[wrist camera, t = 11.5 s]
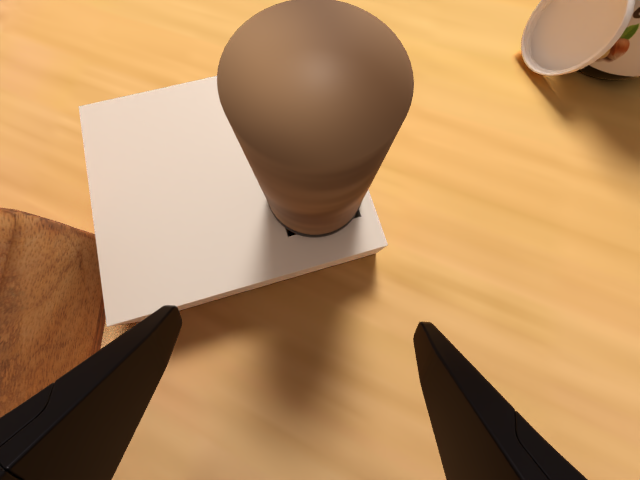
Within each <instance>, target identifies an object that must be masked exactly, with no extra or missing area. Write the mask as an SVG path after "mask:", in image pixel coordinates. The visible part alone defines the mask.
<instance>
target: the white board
mask: <svg viewBox="0 0 640 480" xmlns="http://www.w3.org/2000/svg"><path fill="white" fill-rule="evenodd" d="M79 112H80V120H81V128H82V136H83V144H84V152H85V159H86V167H87V175H88V183H89V191H90V198H91V206H92V214H93V222H94V230H95V237H96V245H97V253H98V261H99V269H100V277H101V284H102V292H103V300H104V308H105V316H106V323H107V327H108V326H114V325H121V324H127V323H134V322H141V321H142V320H144V319H145V318H146V317H148V316H149V315H151V314H152V313H154V312H155V311H157V310H158V309H159V308H161V307H162V306H164V305H175V306H177V307H178V310H179V311H180V310H183V309H186V308H190V307H193V306H197V305H200V304H204V303H207V302H210V301H214V300H217V299H221V298H224V297H228V296H231V295H234V294H238V293H241V292H245V291H248V290H252V289H255V288H259V287H262V286H265V285H269V284H272V283H276V282H279V281H283V280H286V279H289V278H293V277H296V276H300V275H303V274H307V273H310V272H314V271H317V270H320V269H324V268H327V267H331V266H334V265H338V264H341V263H344V262H348V261H351V260H355V259H358V258H362V257H365V256H368V255H372V254H375V253H377V252H379V251H380V250H382V249H383V248H385V247H386V246H388V244H387V241H386V238H385V235H384V232H383V230H382V227H381V224H380V221H379V218H378V215H377V212H376V210H375V207H374V204H373V201H372V198H371V195H370V192H369V189H368V191H367V193H366V195H365V197H364V198H363V200H362V202H361V205H360V208H359V210H358V212H357V213H356V215H355V217H354V218H353V219H352V221H351V222H350V223H349V224H348V225H347V226H346V227H344V228H343V229H342V230H340V231H338V232H337V233H334V234H332V235H329V236H325V237H304V236H301V235H298V234H296V235H293V236H289V234H288V231H287V229H286V228H285V227H284V226H282V225H281V224H280V223H279V222H278V221H277V219H276V218H275V217H274V215H273V213H272V211H271V210H270V207H269V205H268V202H267V200H266V197H265V195H264V193H263V191H262V189H261V187H260V185H259V183H258V181H257V179H256V177H255V175H254V173H253V171H252V169H251V167H250V165H249V162H248V160H247V158H246V156H245V154H244V152H243V150H242V148H241V146H240V144H239V142H238V140H237V138H236V136H235V134H234V132H233V129H232V127H231V125H230V123H229V121H228V119H227V117H226V115H225V113H224V110H223V108H222V105H221V103H220V99H219V95H218V88H217V76H214V77H210V78H205V79H201V80H196V81H192V82H187V83H183V84H178V85H174V86H169V87H165V88H160V89H156V90H151V91H146V92H142V93H137V94H133V95H128V96H124V97H119V98H115V99H110V100H106V101H101V102H97V103H92V104H88V105H83V106H79Z"/></svg>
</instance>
